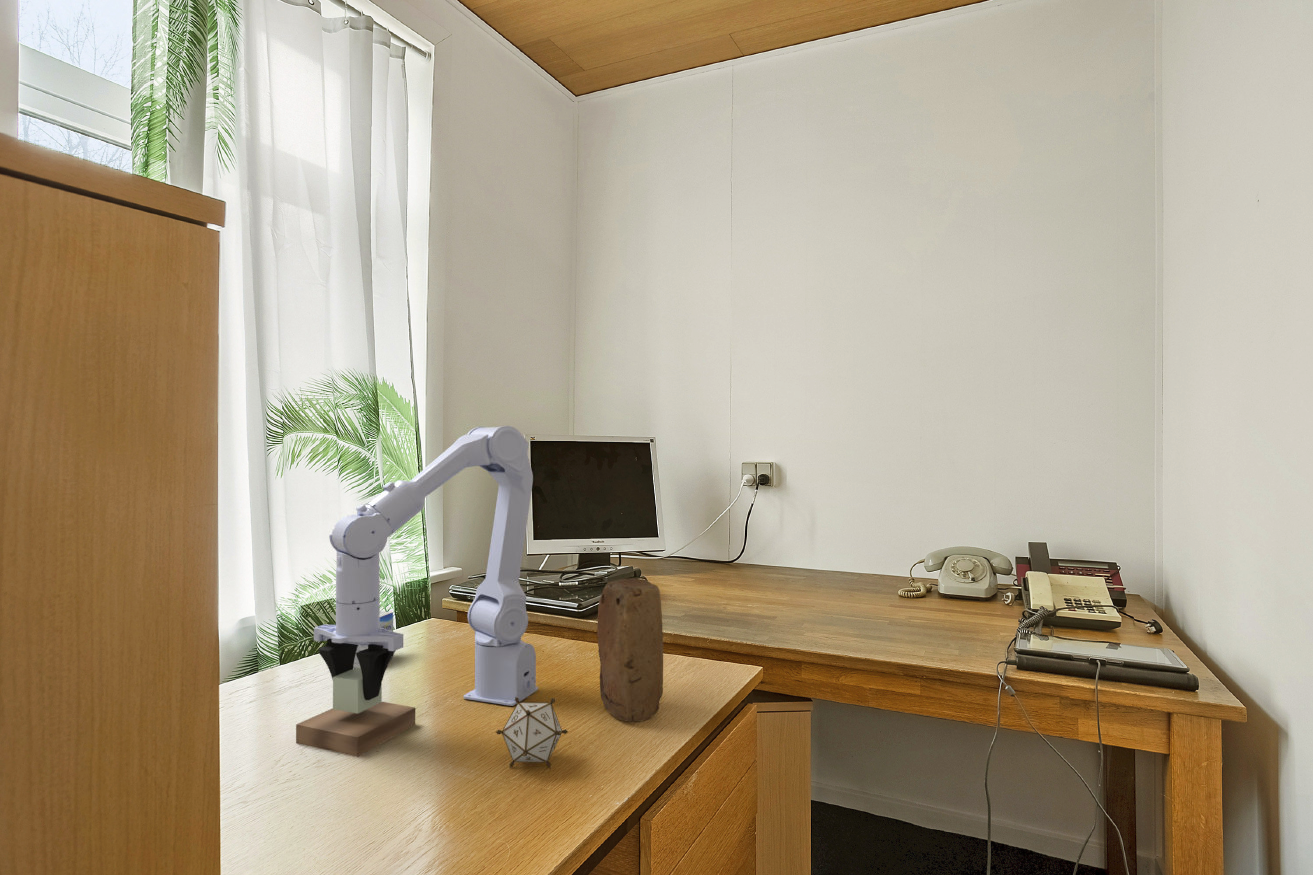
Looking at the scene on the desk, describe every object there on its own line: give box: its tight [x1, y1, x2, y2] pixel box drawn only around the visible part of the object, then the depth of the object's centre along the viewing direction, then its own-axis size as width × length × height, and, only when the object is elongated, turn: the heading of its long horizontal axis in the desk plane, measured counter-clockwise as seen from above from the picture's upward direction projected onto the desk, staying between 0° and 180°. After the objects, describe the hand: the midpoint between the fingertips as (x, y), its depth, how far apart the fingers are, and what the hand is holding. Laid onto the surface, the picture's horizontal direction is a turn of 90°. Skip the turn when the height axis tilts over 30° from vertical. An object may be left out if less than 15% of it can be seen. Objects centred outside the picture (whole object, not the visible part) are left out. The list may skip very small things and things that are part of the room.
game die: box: [494, 697, 569, 770], centre depth 88 cm, size 9×8×10 cm
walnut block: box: [295, 701, 416, 757], centre depth 97 cm, size 11×11×3 cm
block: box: [596, 577, 664, 723], centre depth 105 cm, size 11×8×20 cm
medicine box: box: [353, 611, 394, 669], centre depth 129 cm, size 8×4×9 cm, turn 168°
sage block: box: [332, 667, 383, 714], centre depth 97 cm, size 4×4×4 cm
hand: (357, 695), depth 97 cm, fingers closed on sage block, 4 cm apart
